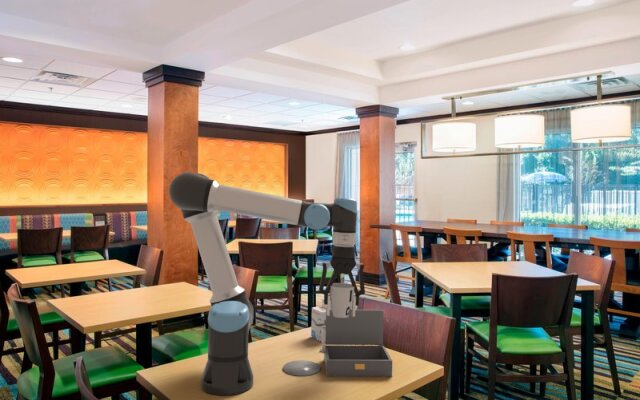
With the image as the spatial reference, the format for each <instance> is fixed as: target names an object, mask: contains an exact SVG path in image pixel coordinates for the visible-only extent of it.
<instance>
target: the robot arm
mask: <svg viewBox="0 0 640 400" xmlns="http://www.w3.org/2000/svg"><path fill="white" fill-rule="evenodd" d="M168 195H169V198H170V200H171V202H172V203H173V205H174V206H176V207H177V208H179V209H180V211H181V214H182V216H183V217H182V218H183V220H184V221H185V222H188V223H190V226H191V229H192V232H193V233H192V234H193V237H194V239H195V242H196V245H197V248H198V252H199V255H200V257H201V261H202V264H203V267H204V270H205V271H204V272H205V274H206V276H207V281H208V284H209V286H210V290H211V292H212V295H211V298H210V299H209V302H210V308H209V311H208V316H207V323H208V328H207V330H208V331H207V332H208V333H207V334H208V335H207V336H208V337H207V360H206V364H205V367H204V370H203V373H202V376H201V380H200V381H201V382H200V389H201V390H202V391H204V392H205V393H208V394H210V395H215V396H233V395H237V394H241V393H242V394H243V393H244V392H247V391H249V390H250V389H251V388H252V387H253V386H254V373H253V369H252V367H251V364H250V360H249V331H250V329H251V326H252V323H253V321H254V318H255V317H254V316H255V315H254V314H255V312H254V307H253V304H252V302H251V301H250V300H249V297H248V296H247V295H248V294H247V292H246V289H245V287H244V288H243V287H242V286H240V285H239V283H238V282H239V281H238V279H237V276H236V273H235V269H234V266H233V263H232V260H231V257H230V253H229V250H228V246H227V244H226V241H225V238H224V234H223V232H222V228H221V225H220V221H219V218H218V213H219V212H223V213H224V212H225V213H230V214H235V215H236V214H237V215H241V216H246V217H252V218H257V219H262V220H267V221H273V222H279V223H284V224H289V225H294V226H298V227H303V228H310V230H313V231H314V230H315V231H318V230H319V231H320V230H323V229H324V228H326V227H332V228H333V229H332V244H333V245H332V248H331V259H330V261H323V262H322V263H321V265H322V266H321V267H322V272H321V277H320V282H319V287H318V292H319V293H320V294H322V295H323V299H324V304H325V305H327V316H330V289H331V286H332V285H333V283H335V280H336V278H337V277H338V275H348V278H349V280H350V281H349V282H350V284H352V287H354V296H353V303H352V308H351V310H352V316H353V317H355V310H356V307H357V306H358V307H359V303H360V296H362V295H365V294H366V290H365V279H364V268H365V265H364V264H363V263H362V262H360V263H359V262H356V240H357V239H356V238H357V236H356V234H357V218H358V202H357V199H355V198H349V197H348V198H345V197H336V198H334V201H333V203H323V202H311V201H310V202H309V201H307V200H306V201H305V200H302V199H301V200H300V199H295V198H289V197H285V196H281V195H275V194H270V193H264V192H261V191H260V192H259V191H254V190H249V189H243V188H239V187H234V186H228V185H224V184H219V183H218V181H217V180H215V179H210V177H209V176H207V175H205V174H203V173H197V172H190V171H186V172H182V173H180V174H177V175H176V176H175V177H174V178H173V179H172V180H171V182H170V184H169V188H168ZM330 266H331V268H332V269H333V271H332V273H331V276H330V278H329V280H328V282H327V284H326V287H325V283H326V278H327V272H328V269H329V268H330ZM355 267H356V269H357V271H358V280H359V281H358V282H359V288H358V286H357V283H356V281H355V278H354V275H353V272H352V271H353V270H354V268H355ZM358 289H359V290H358Z"/></svg>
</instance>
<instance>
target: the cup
mask: <svg viewBox="0 0 640 400" xmlns="http://www.w3.org/2000/svg"><path fill="white" fill-rule="evenodd" d="M329 294H330V302H331V309H332V313H333V316H334V317H338V318H347V317H349V314H350V311H351V310H352V303H353V296H354V295H355V292H354V287H352V284H351V283H345V282H334V283H333V285H332V286H331V289H330V291H329Z"/></svg>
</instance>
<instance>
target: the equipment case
mask: <svg viewBox="0 0 640 400" xmlns="http://www.w3.org/2000/svg"><path fill="white" fill-rule="evenodd" d="M324 329H326V336H325V342H324ZM383 341H384V309H355V317H353V316H352V309H351V311H350V314H349V317H347V318H338V317H334V316H333V313H332V309H330V316H327V309H326V326H322V342H321V343H322V346H321V349H322V351H321V353H322V354H323V362H324V368H325V374H326V377H379V378H380V377H383V378H384V377H393V359H392V358H391V355H390V354H389V352H388V350H387V349H386V347H385V346H384V344H383V343H384V342H383Z"/></svg>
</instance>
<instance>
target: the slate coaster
mask: <svg viewBox="0 0 640 400" xmlns="http://www.w3.org/2000/svg"><path fill="white" fill-rule="evenodd" d="M282 367H283V368H282V369H283V372H285V373H286V374H288V375H291V376H296V377H297V376H298V377H308V376H313V375H316V374H318V373H319V372H320V371H321V365H319V363H317V362H315V361H312V360H302V359H301V360H300V359H299V360H292V361H289V362H286V363H285V364H283V366H282Z"/></svg>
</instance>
